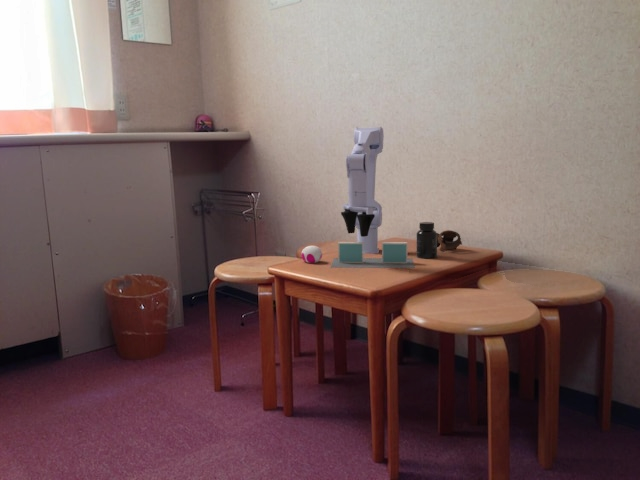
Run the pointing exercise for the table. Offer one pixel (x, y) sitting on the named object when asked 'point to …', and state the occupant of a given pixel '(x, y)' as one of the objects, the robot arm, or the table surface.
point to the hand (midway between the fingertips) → (357, 234)
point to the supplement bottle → (426, 241)
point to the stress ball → (311, 254)
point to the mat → (373, 264)
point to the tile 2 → (394, 252)
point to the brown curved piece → (448, 240)
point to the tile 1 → (350, 252)
